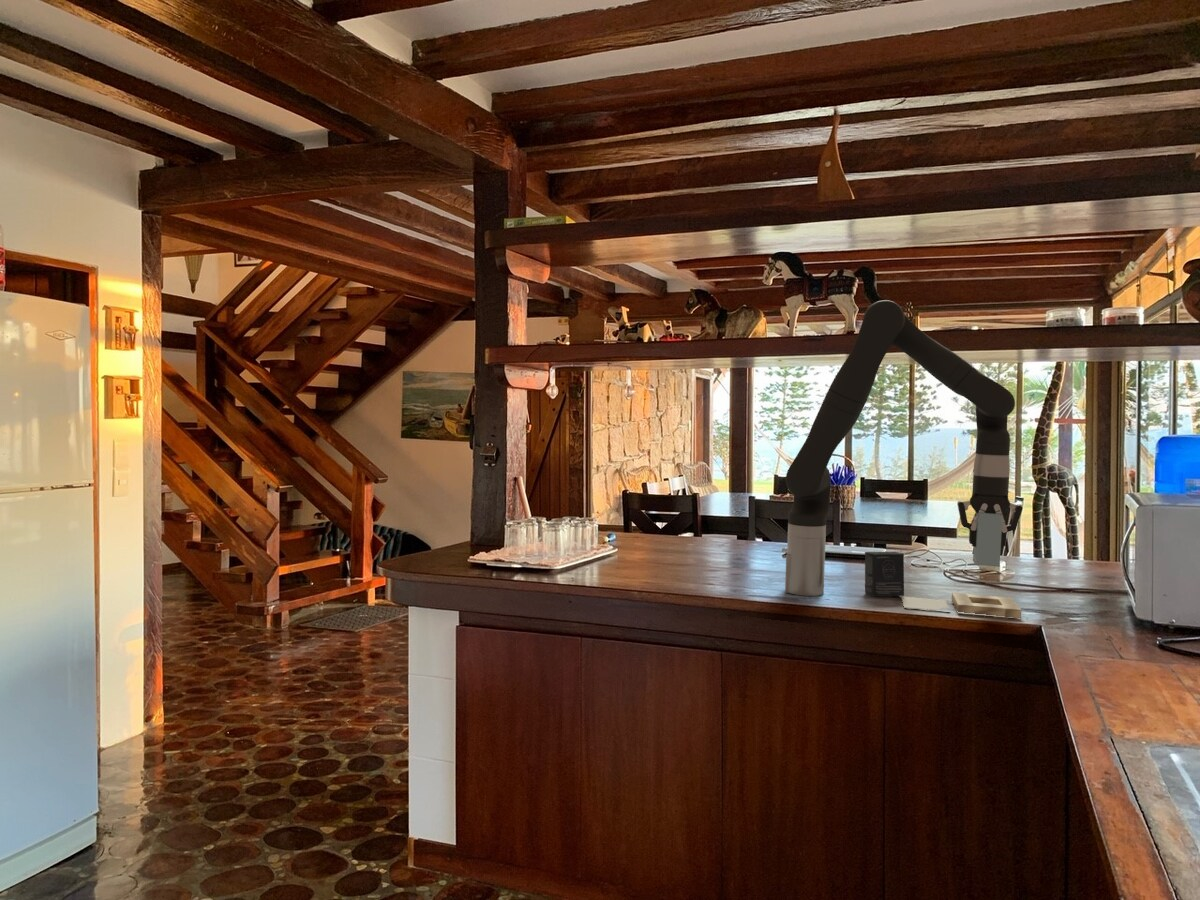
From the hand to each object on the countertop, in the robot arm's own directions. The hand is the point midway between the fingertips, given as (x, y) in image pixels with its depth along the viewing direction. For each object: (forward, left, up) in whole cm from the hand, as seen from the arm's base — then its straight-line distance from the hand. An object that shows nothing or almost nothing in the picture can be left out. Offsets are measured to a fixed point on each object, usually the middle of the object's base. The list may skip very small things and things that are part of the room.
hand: (987, 546), depth 191 cm
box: (-22, +7, -15) cm, 27 cm away
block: (0, 0, -4) cm, 4 cm away
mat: (-13, 0, -15) cm, 20 cm away
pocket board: (0, 0, -15) cm, 15 cm away
